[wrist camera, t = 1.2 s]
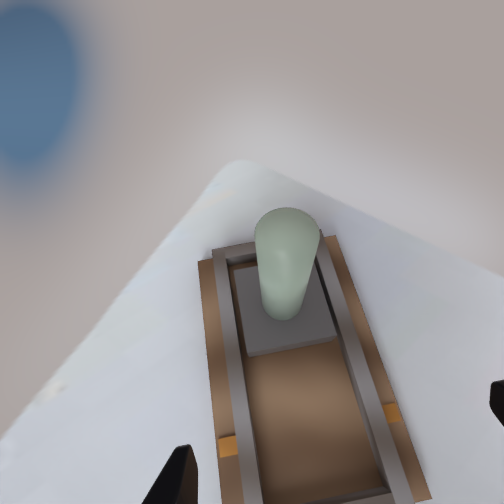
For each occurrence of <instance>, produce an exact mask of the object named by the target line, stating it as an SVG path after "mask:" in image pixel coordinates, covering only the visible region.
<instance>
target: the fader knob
mask: <svg viewBox="0 0 504 504" xmlns="http://www.w3.org/2000/svg"><path fill="white" fill-rule="evenodd" d="M319 240H320V232H319V228H318V226H317V224H316V222H315V221H314V219H313V218H312V217H311V216H310V215H308V214H307V213H305V212H303V211H301V210H298V209H295V208H279V209H275V210H272V211H270V212H268V213H267V214H265V215H264V216H263V217H262V218H261V219H260V220H259V222H258V224H257V226H256V228H255V245H256V254H257V263H258V266H254V267H249V268H243V269H238V270H234V276H235V282H236V288H237V294H238V301H239V307H240V313H241V319H242V325H243V331H244V337H245V344H246V350H247V354H248V356H249V357H254V356H259V355H264V354H269V353H275V352H280V351H285V350H290V349H295V348H300V347H305V346H310V345H315V344H320V343H325V342H330V341H332V340H333V339H334V338H335V337H336V336H337V334H336V331H335V327H334V324H333V321H332V318H331V314H330V311H329V308H328V305H327V302H326V298H325V295H324V292H323V289H322V285H321V282H320V279H319V276H318V273H317V269H316V266H315V263H314V259H315V255H316V251H317V248H318V244H319Z"/></svg>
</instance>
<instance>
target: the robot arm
mask: <svg viewBox="0 0 504 504" xmlns="http://www.w3.org/2000/svg"><path fill="white" fill-rule="evenodd" d="M489 404H490V407H491V410H492V412H493V413H494V414H495V416H496V417H497V418H498V420H499V421H500V422H501V424H502V425H503V426H504V380H499V381H494V382H493V383H492V384H491V389H490V401H489ZM142 504H198V467H197V463H196V459H195V456H194V453H193V450H192V447H191V445H189V444H187V445H182V446H178V447H176V448H175V449H174V451H173V453H172V454H171V456H170V458H169V459H168V461H167V463H166V464H165V466H164V467H163V469H162V471H161V472H160V474H159V476H158V477H157V479H156V481H155V482H154V484H153V486H152V487H151V489H150V491H149V492H148V494H147V496H146V497H145V499H144V501H143V502H142Z"/></svg>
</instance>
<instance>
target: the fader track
mask: <svg viewBox="0 0 504 504" xmlns="http://www.w3.org/2000/svg"><path fill="white" fill-rule="evenodd" d="M319 232H320V240H319V244H318V248H317V251H316V255H315V259H314V263H315V266H316V269H317V273H318V276H319V279H320V282H321V285H322V289H323V292H324V295H325V298H326V302H327V305H328V308H329V311H330V314H331V318H332V321H333V324H334V327H335V331H336V334H337V336H336V337H335V338H334V339H333V340H332V341H330V342H325V343H320V344H315V345H310V346H305V347H300V348H295V349H290V350H285V351H280V352H275V353H269V354H264V355H259V356H254V357H249V356H248V354H247V350H246V344H245V337H244V331H243V325H242V319H241V313H240V307H239V301H238V294H237V288H236V282H235V276H234V270H238V269H243V268H249V267H254V266H258V263H257V254H256V245H255V242H250V243H245V244H239V245H234V246H229V247H223V248H218V249H213V250H212V255H213V258H212V259H207V260H202V261H198V270H199V279H200V289H201V299H202V309H203V319H204V329H205V339H206V349H207V359H208V369H209V379H210V389H211V399H212V409H213V419H214V429H215V438H216V448H217V458H218V468H219V478H220V488H221V498H222V504H415V502H420V501H424V500H429V499H432V497H431V494H430V492H429V489H428V486H427V483H426V481H425V478H424V475H423V472H422V470H421V467H420V464H419V462H418V459H417V456H416V453H415V451H414V448H413V445H412V442H411V440H410V437H409V434H408V432H407V429H406V426H405V423H404V421H403V418H402V415H401V412H400V410H399V407H398V404H397V402H396V399H395V396H394V393H393V391H392V388H391V385H390V382H389V380H388V377H387V374H386V372H385V369H384V366H383V363H382V361H381V358H380V355H379V352H378V350H377V347H376V344H375V342H374V339H373V336H372V333H371V331H370V328H369V325H368V322H367V320H366V317H365V314H364V312H363V309H362V306H361V303H360V301H359V298H358V295H357V293H356V290H355V287H354V284H353V282H352V279H351V276H350V273H349V271H348V268H347V265H346V263H345V260H344V257H343V254H342V252H341V249H340V246H339V243H338V241H337V238H336V235H334V236H329V237H323V234H322V231H321V229H319Z"/></svg>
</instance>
